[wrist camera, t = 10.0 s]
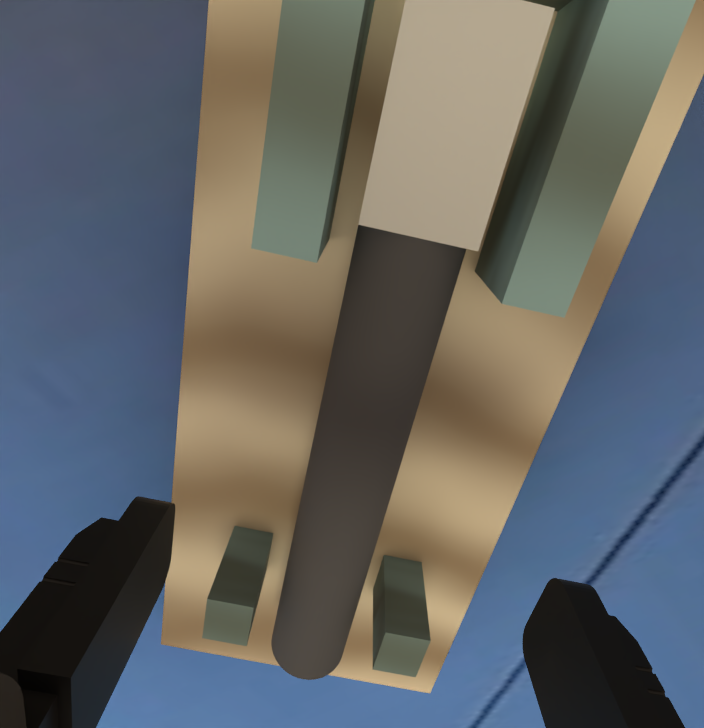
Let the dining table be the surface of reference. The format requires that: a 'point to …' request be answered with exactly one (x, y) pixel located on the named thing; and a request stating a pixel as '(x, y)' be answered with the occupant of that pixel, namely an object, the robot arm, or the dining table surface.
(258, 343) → the board
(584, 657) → the robot arm
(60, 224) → the dining table surface
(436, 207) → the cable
